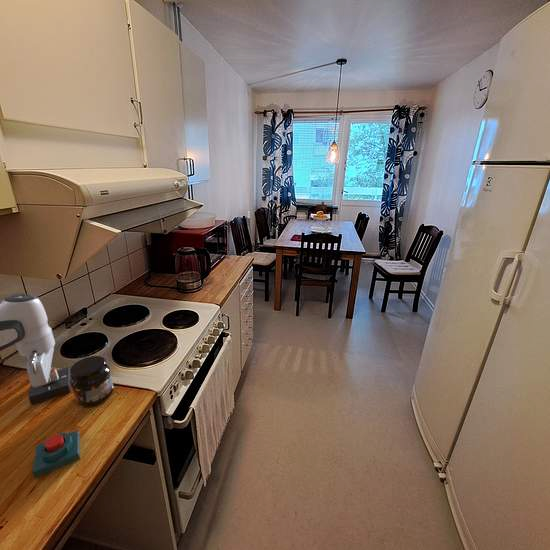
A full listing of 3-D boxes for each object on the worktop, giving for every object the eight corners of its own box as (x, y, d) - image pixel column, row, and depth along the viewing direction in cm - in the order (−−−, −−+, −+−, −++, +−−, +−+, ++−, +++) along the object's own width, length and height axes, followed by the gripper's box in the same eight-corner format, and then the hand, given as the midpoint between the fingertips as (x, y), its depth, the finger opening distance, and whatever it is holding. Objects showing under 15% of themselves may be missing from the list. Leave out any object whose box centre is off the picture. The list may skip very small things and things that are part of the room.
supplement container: (81, 387, 94) (72, 358, 90) (116, 380, 98) (109, 351, 93) (72, 412, 85) (62, 381, 81) (112, 403, 89) (104, 372, 84)
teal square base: (35, 478, 68) (30, 467, 66) (38, 451, 74) (34, 440, 72) (80, 459, 72) (76, 448, 71) (80, 435, 78) (76, 424, 77)
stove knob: (40, 385, 91) (37, 376, 90) (41, 382, 92) (38, 372, 91) (58, 380, 93) (55, 370, 92) (58, 377, 95) (55, 368, 93)
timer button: (45, 454, 69) (43, 449, 69) (47, 443, 72) (45, 438, 71) (63, 447, 71) (62, 442, 71) (64, 436, 74) (62, 431, 73)
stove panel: (31, 404, 88) (28, 397, 86) (35, 384, 95) (32, 377, 94) (70, 392, 93) (67, 384, 91) (70, 373, 100) (68, 366, 99)
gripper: (44, 358, 81) (57, 396, 86) (52, 325, 97) (62, 358, 102) (16, 366, 78) (31, 404, 83) (28, 330, 94) (40, 364, 99)
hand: (48, 379), depth 92 cm, fingers closed on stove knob, 2 cm apart
